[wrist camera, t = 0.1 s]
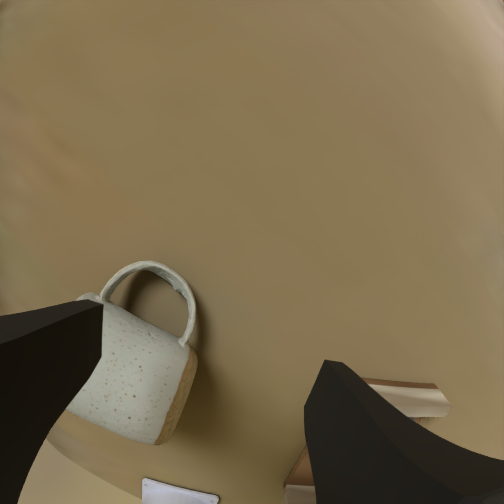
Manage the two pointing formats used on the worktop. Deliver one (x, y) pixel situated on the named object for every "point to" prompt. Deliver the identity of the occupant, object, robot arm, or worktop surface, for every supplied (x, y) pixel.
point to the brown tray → (396, 393)
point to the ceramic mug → (139, 367)
